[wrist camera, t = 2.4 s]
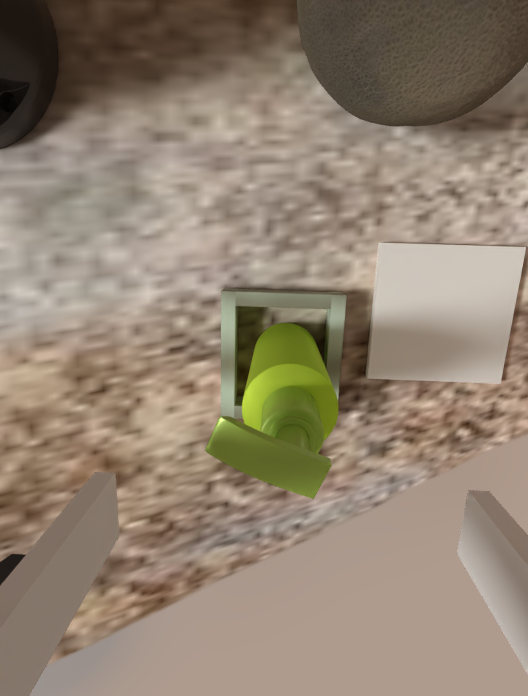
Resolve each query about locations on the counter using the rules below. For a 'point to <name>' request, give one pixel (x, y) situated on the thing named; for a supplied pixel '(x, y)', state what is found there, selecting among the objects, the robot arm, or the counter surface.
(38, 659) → the robot arm
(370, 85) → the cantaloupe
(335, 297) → the frame
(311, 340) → the soap dispenser
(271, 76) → the counter surface
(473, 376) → the mat
